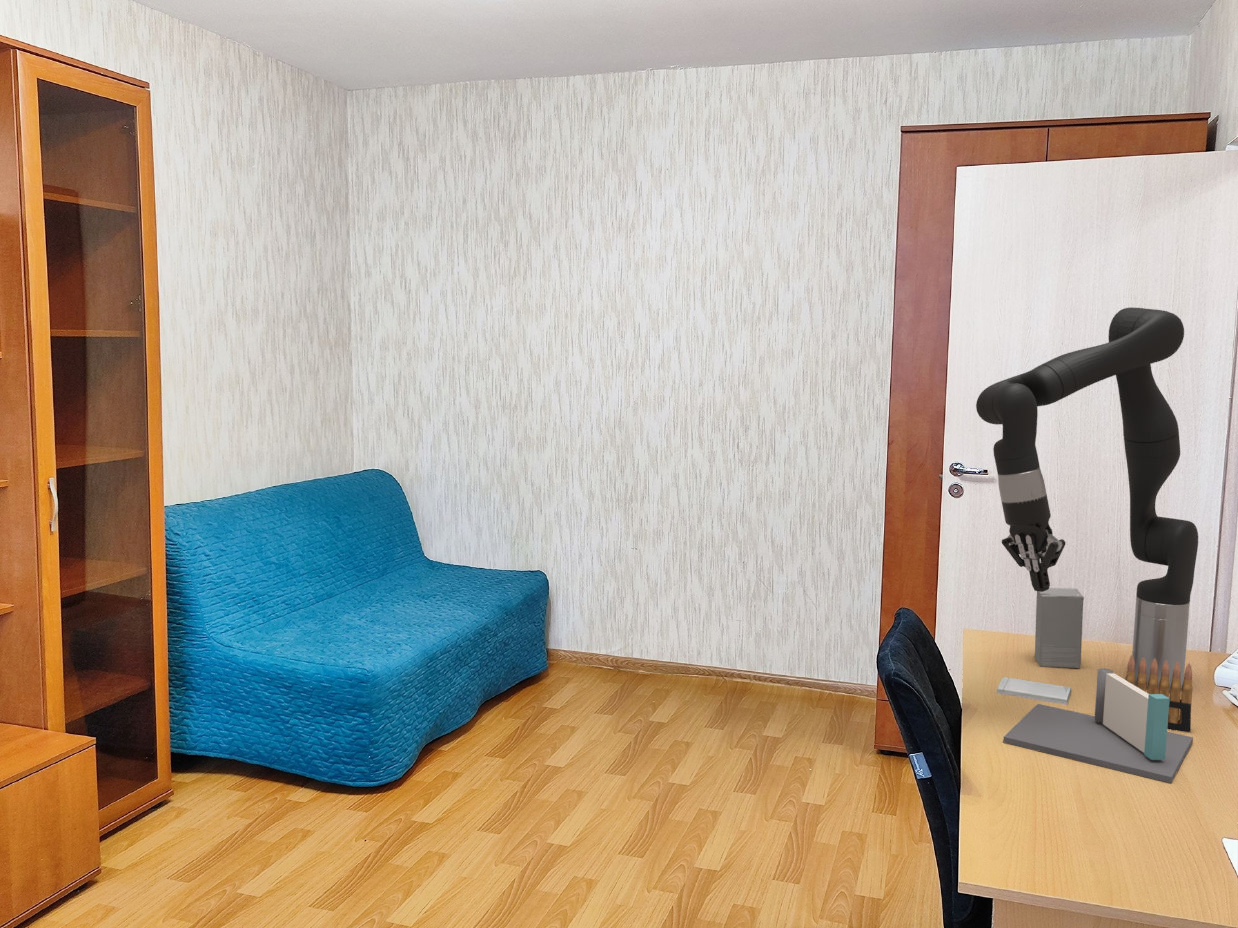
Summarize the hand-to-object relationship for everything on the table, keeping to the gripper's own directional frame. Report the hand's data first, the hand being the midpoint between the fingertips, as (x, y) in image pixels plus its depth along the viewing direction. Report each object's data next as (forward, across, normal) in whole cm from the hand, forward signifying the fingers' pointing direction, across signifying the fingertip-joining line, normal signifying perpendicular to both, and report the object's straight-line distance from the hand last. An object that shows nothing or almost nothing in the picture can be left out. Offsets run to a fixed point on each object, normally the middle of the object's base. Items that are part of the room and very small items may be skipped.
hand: (1041, 590), depth 177 cm
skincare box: (+26, +24, -23) cm, 42 cm away
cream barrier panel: (+24, -13, +1) cm, 27 cm away
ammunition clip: (+27, -8, -11) cm, 31 cm away
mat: (+24, -10, +4) cm, 27 cm away
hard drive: (+24, +12, -5) cm, 27 cm away
